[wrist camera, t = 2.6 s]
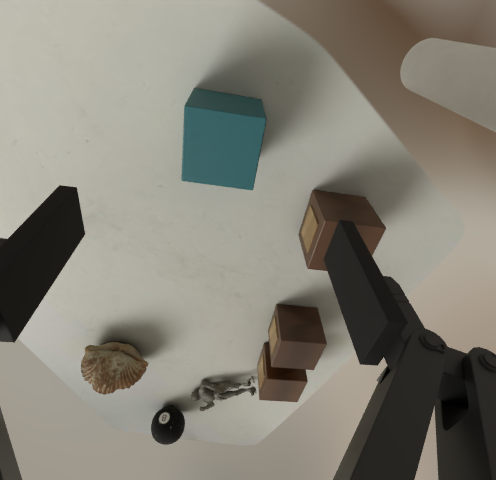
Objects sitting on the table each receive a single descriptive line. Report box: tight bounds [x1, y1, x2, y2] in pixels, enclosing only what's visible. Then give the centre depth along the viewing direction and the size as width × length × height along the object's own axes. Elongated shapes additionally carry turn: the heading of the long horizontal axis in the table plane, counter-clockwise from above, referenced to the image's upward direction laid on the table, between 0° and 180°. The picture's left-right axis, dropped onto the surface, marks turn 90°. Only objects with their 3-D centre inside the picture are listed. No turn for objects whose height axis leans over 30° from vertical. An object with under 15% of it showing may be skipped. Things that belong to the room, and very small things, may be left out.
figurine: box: [191, 376, 256, 411], centre depth 55 cm, size 6×4×12 cm
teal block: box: [182, 88, 266, 190], centre depth 27 cm, size 6×6×6 cm
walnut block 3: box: [299, 190, 386, 271], centre depth 33 cm, size 6×6×6 cm
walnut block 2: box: [258, 343, 308, 402], centre depth 49 cm, size 6×6×6 cm
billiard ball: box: [151, 407, 185, 444], centre depth 59 cm, size 6×6×6 cm
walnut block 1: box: [268, 304, 327, 370], centre depth 44 cm, size 6×6×6 cm
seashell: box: [81, 342, 148, 395], centre depth 46 cm, size 9×7×8 cm
